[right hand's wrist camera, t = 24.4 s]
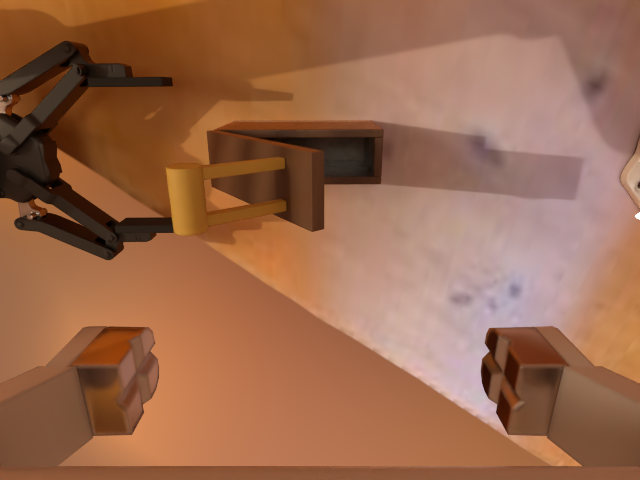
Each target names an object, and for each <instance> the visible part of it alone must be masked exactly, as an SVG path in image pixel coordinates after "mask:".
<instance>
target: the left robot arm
mask: <svg viewBox="0 0 640 480" xmlns="http://www.w3.org/2000/svg"><path fill="white" fill-rule="evenodd" d="M71 66H73V67H72V68H71V69H70V70H69V71H68V72H67V73H66V74H65V76H64V77H63V78H62V79H61V80H60V81H59V82H58V84H57V85H56V86H55V87H54V88H53V89H52V90H51V91H50V93H49V94H48V95H47V96H46V97H45V98H44V99H43V100H42V102H41V103H40V104H39V105H38V106H37V107H36V108H35V109H34V111H33V112H32V113H31V114H29V115H27V116H25V117H24V118H22V117H20V116H18V115H17V114H15V113H12V107H13V106H14V105H15V104H17V103H18V101H20V99H21V98H20V96H19V95H22V94H25V93H28V92H30V91H32V90H34V89H35V88H37V87H38V86H40V85H42V84H43V83H45V82H47V81H48V80H50V79H52V78H53V77H55V76H56V75H58V74H60V73H61V72H63V71H65V70H66V69H68V68H69V67H71ZM140 86H173V83H172V78H169V77H133V75H132V68H131V66H128V65H126V64H96V63H94V62H93V61H92V60H91V58H90V56H89V50H88V47H87V46H86V45H84V44H81V43H76V42H70V41H64V42H62V43H60V44H58V45H57V46H55V47H54V48H52V49H50V50H49V51H47V52H46V53H44V54H43V55H41V56H39V57H38V58H36V59H35V60H33V61H31V62H30V63H28V64H27V65H25V66H23V67H22V68H20V69H19V70H17V71H15V72H14V73H12V74H11V75H9V76H7V77H6V78H4V79H3V80H1V81H0V198H9V199H12V200H14V201H16V202H18V205H19V212H20V218H18V219H16V220H15V221H14V224H15V226H16V228H18V229H20V230H27V231H37V232H41V233H43V234H45V235H48V236H50V237H53V238H55V239H57V240H60V241H62V242H65V243H67V244H69V245H72V246H74V247H77V248H79V249H81V250H84V251H86V252H89V253H91V254H93V255H96V256H98V257H101V258H103V259H105V260H111V259H113V258H114V257H115V256H116V255H117V254H119V253H120V252H121V251H122V250H123V249H124V245H123V242H147V241H150V240H152V239H153V238H154V237H155V236H156V233H174V229H173V222H172V218H126V219H124V220H123V221H121V222H120V223H119V222H118V221H117V220H115V219H114V218H112V217H111V216H109V215H108V214H106V213H105V212H104V211H102V210H101V209H99V208H98V207H96V206H95V205H94V204H92V203H91V202H89V201H88V200H86V199H85V198H84V197H82V196H81V195H79V194H78V193H76V192H75V191H73V190H72V187H71V186H70V185H69V184H68V183H66V182H65V181H64V180H62V179H61V178H59V175H60V173H62V169H61V165H60V163H59V161H58V159H57V146H56V142H55V141H52V139H51V137H50V136H49V135H48V134H49V133H50V132H51V131H52V130H53V129H54V128H55V127H56V126H57V124H58V121H59V119H60V118H61V117H62V116H63V115H64V114H65V113H66V112H67V111H68V110H69V109H70V107H71V106H72V105H73V104H74V103H75V102H76V101H77V100H78V99H79V98H80V96H81V95H82V94H83V93H84V92H85V91H86V90H87V89H88V88H89V87H140ZM49 187H51V188H52V189H49ZM37 198H38V199H40V200H41V201H43V202H45V203H47V204H52V205H54V206H55V207H57V208H58V209H60V210H61V211H63V212H64V213H66V214H67V215H69V216H70V217H71V218H73V219H74V220H76V221H77V222H79V223H80V224H82V225H83V226H82V225H80V224H77V223H75V222H73V221H70V220H68V219H66V218H63V217H61V216H58V215H56V214H52V213H47V209H45V208H41V207H38V206H37V205H36V204H35V203H34V200H35V199H37Z"/></svg>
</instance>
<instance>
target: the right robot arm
mask: <svg viewBox="0 0 640 480" xmlns="http://www.w3.org/2000/svg"><path fill="white" fill-rule="evenodd" d="M620 180H621V183H622V185H623V186H624V188H625V189H626V190H627V192H628V193H629V195H630V196H631V197H632V199H633V200H634V202H635V203H636V204H637V206H638V207H639V209H640V185H639V186H638V187H637V185H638V183H639V182H640V139H639V142H638V146H637V149H636V151H635V154H634V155H633V156H632V158H631V159H630V161H629V162H628V163H627V165H626V166H625V168H624V170H623V172H622V174H621V178H620ZM636 218H638V219H640V213H639V214H637V215H636ZM154 344H155V340H154V335H153V331H152V330H151V329H150V328H149V327H106V326H97V327H85V328H82V330H81V331H80V332H79V333H78V334H77V335H76V336H75V337H74V338H73V339H72V340H71V341H70V342H69V343H68V344H67V345H66V346H65V347H64V348H63V349H62V350H61V351H60V352H59V353H58V354H57V355H56V356H55V357H54V358H53V359H52V360H51V361H50V362H49V363H48V364H47V365H46V366H44V367H36V368H34V369H31V370H29V371H27V372H25V373H23V374H20V375H18V376H16V377H14V378H12V379H9V380H7V381H5V382H3V383H1V384H0V480H640V384H639V383H637V382H635V381H633V380H631V379H628V378H626V377H624V376H622V375H620V374H617V373H615V372H613V371H611V370H609V369H606V368H604V367H597V366H594V365H593V364H592V363H591V362H590V361H589V360H588V359H587V358H586V357H585V356H584V355H583V354H582V353H581V352H580V351H579V350H578V349H577V348H576V347H575V346H574V345H573V344H572V343H571V342H570V341H569V340H568V338H567V337H566V336H565V335H564V334H563V333H562V332H561V331H560V330H559V329H558V328H555V327H553V326H543V327H512V328H489V330H488V332H487V334H486V339H485V344H486V346H487V347H488V349H489V353H488V354H487V355H486V356H485V357H484V358H483V359H482V366H481V377H482V384H483V387H484V390H485V393H486V394H487V396H488V398H489V399H490V400H491V401H493V402H494V403H496V404H497V410H496V413H497V415H498V417H499V419H500V421H501V422H502V424H503V426H504V428H505V430H506V432H507V433H508V435H532V436H547V438H548V439H549V440H551V441H552V442H553V443H554V444H556V445H557V446H558V447H559V448H561V449H562V450H563V451H564V452H566V453H567V454H568V455H569V456H571V457H572V458H573V459H574V460H576V461H577V462H578V463H580V464H581V465H582V466H58V465H59V464H61V463H62V462H63V461H64V460H66V459H67V458H68V457H69V456H71V455H72V454H73V453H74V452H76V451H77V450H78V449H79V448H81V447H82V446H83V445H85V444H86V443H87V442H88V441H90V440H91V439H92V438H93V436H107V435H132V433H133V432H134V430H135V428H136V426H137V424H138V422H139V420H140V419H141V417H142V415H143V413H144V410H143V404H144V403H146V402H147V401H149V400H150V399H151V398H152V396H153V394H154V392H155V390H156V387H157V383H158V379H159V365H158V359H157V358H156V357H155V356H154V355H153V354H152V353H151V349H152V347H153V346H154Z"/></svg>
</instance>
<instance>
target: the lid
mask: <svg viewBox="0 0 640 480" xmlns="http://www.w3.org/2000/svg"><path fill="white" fill-rule="evenodd" d="M207 139H208V150H209V161H210V165H204V166H202V165H200V164H196V163H181V164H173V165H169V166H167V167H166V175H167V183H168V191H169V199H170V206H171V214H172V222H173V229H174V233H175V234H177V235H182V236H192V235H198V234H201V233H204V232H206V231H207V230H208V226H213V225H218V224H223V223H228V222H233V221H238V220H243V219H248V218H253V217H258V216H263V215H268V214H274V215H276V216H278V217H280V218H283V219H285V220H287V221H289V222H291V223H294V224H296V225H298V226H300V227H303V228H305V229H307V230H309V231H311V232H313V231H318V230H322V229H324V151H321V150H316V149H311V148H306V147H301V146H295V145H290V144H285V143H280V142H275V141H270V140H264V139H259V138H254V137H249V136H244V135H239V134H233V133H228V132H223V131H218V130H213V131H207ZM205 179H211V182H212V187H214V188H216V189H218V190H220V191H223V192H225V193H227V194H229V195H232V196H234V197H236V198H238V199H240V200H243V201H245V202H247V203H249V204H250V205H245V206H239V207H234V208H228V209H222V210H217V211H211V212H207V211H206V201H205V191H204V180H205Z"/></svg>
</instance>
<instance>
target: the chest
mask: <svg viewBox="0 0 640 480" xmlns="http://www.w3.org/2000/svg"><path fill="white" fill-rule="evenodd" d="M215 130H218V131H223V132H228V133H233V134H239V135H244V136H249V137H254V138H259V139H264V140H270V141H275V142H280V143H285V144H290V145H295V146H301V147H306V148H311V149H316V150H321V151H324V184H381V169H382V148H383V129H382V128H380V127H379V126H377V125H376V124H374V123H373V122H372V121H371V120H344V121H233V122H232V123H229V124H227V125H224V126H222V127H220V128H217V129H215Z"/></svg>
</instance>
